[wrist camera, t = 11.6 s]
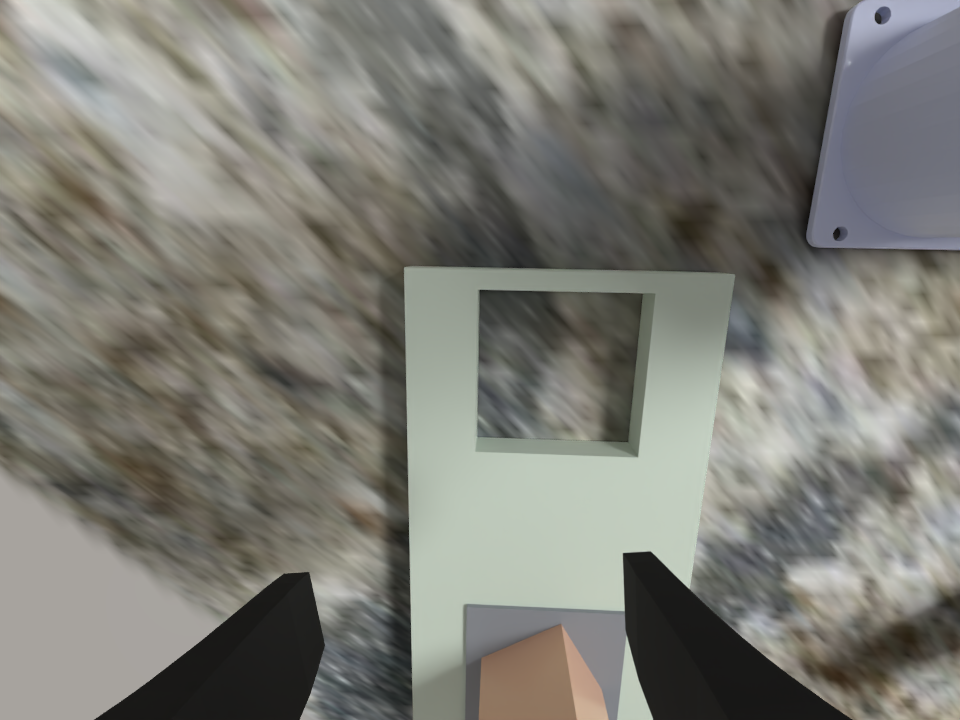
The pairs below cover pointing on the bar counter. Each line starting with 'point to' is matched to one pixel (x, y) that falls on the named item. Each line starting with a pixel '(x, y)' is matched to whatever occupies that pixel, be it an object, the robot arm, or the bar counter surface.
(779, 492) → the bar counter surface
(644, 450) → the pocket board
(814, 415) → the bar counter surface
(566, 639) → the terracotta block
